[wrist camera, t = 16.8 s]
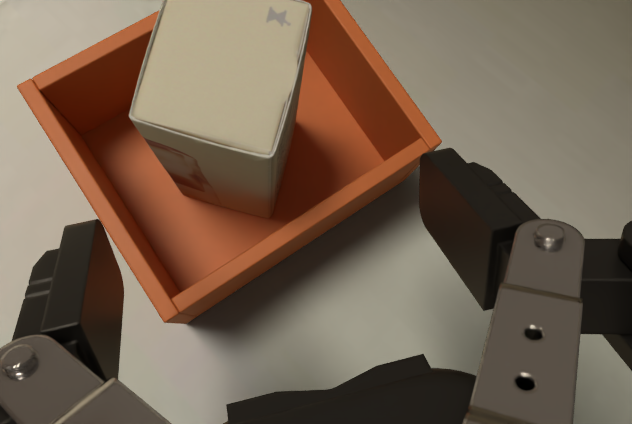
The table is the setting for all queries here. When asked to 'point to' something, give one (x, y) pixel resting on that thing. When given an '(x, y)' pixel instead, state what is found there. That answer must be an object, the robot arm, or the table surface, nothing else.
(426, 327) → the table surface
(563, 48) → the table surface
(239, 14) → the small printed carton
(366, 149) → the bin
